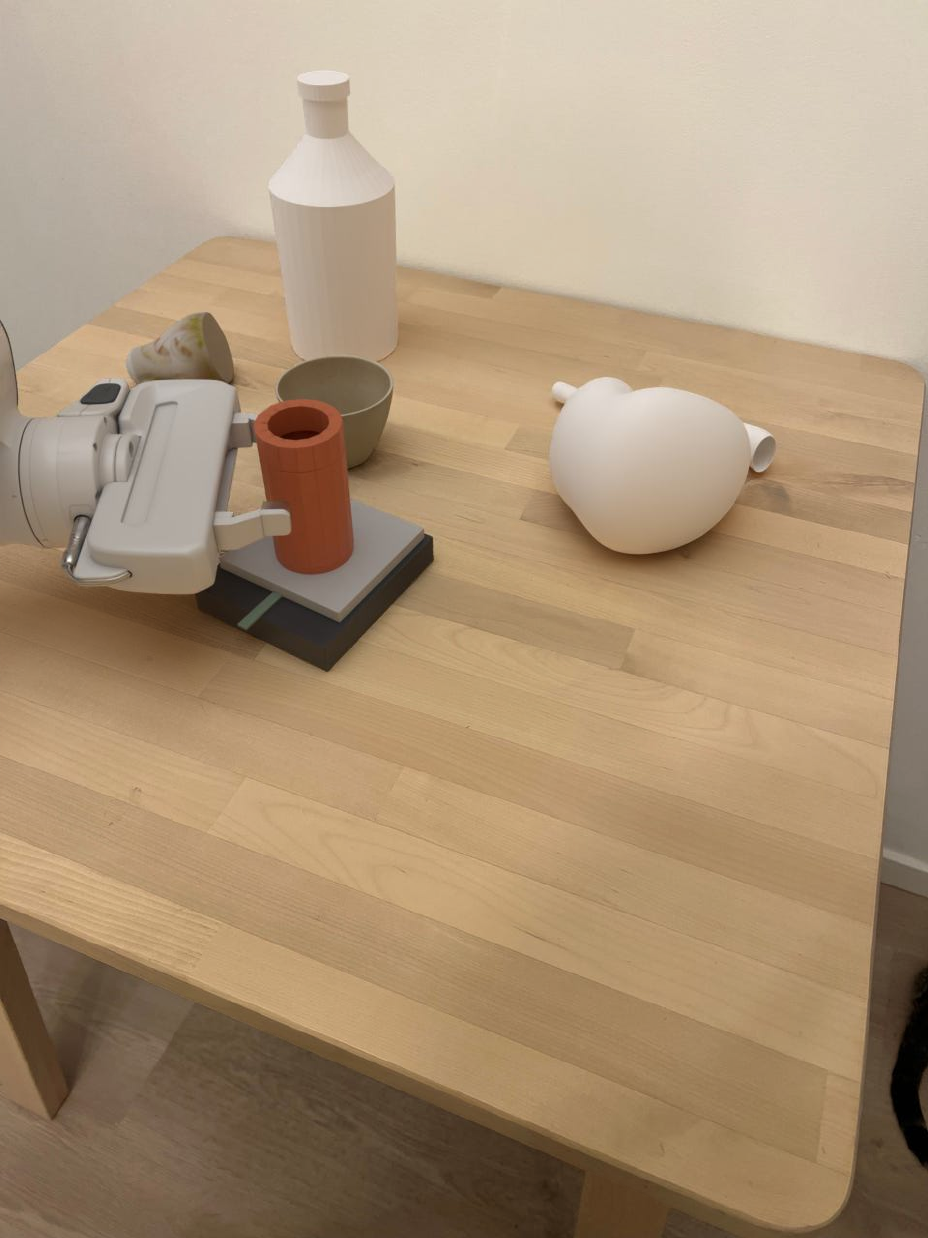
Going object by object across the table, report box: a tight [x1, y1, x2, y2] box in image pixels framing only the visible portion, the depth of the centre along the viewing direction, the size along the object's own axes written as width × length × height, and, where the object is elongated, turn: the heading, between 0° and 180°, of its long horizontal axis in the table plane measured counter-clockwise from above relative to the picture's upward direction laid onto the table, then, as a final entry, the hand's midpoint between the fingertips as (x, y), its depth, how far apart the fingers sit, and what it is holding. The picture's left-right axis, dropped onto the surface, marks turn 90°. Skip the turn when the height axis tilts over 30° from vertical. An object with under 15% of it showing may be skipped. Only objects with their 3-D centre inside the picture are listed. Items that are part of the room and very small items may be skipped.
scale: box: [194, 498, 434, 672], centre depth 70 cm, size 12×16×4 cm
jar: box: [254, 399, 354, 574], centre depth 66 cm, size 6×6×11 cm
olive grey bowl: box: [274, 355, 394, 469], centre depth 82 cm, size 10×10×7 cm
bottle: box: [267, 69, 399, 363], centre depth 90 cm, size 12×12×25 cm
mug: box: [125, 311, 235, 385], centre depth 90 cm, size 8×10×10 cm
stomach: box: [548, 376, 777, 555], centre depth 80 cm, size 23×13×24 cm
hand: (295, 475), depth 64 cm, fingers open, 8 cm apart
